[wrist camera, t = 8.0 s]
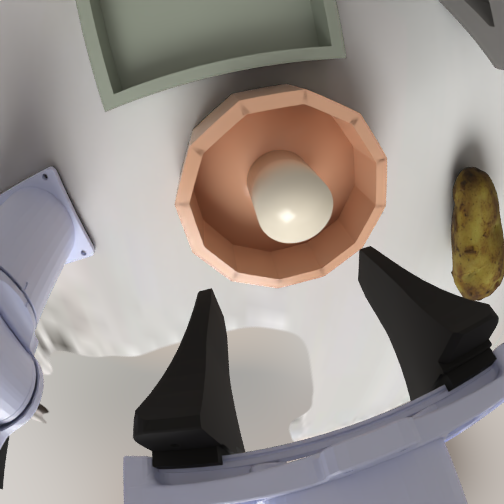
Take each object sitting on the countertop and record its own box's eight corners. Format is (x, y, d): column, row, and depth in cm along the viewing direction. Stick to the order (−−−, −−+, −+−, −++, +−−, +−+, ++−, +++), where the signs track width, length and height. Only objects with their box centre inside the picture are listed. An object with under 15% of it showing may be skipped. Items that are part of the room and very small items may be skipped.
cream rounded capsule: (254, 215, 21) (265, 251, 18) (240, 158, 18) (249, 185, 15) (312, 200, 21) (335, 232, 18) (304, 143, 18) (329, 166, 15)
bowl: (211, 268, 24) (213, 303, 21) (159, 113, 17) (147, 125, 13) (359, 231, 24) (381, 260, 21) (352, 76, 17) (383, 83, 13)
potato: (494, 164, 22) (547, 202, 16) (460, 261, 30) (497, 305, 23) (447, 156, 21) (510, 198, 15) (412, 269, 29) (451, 322, 22)
